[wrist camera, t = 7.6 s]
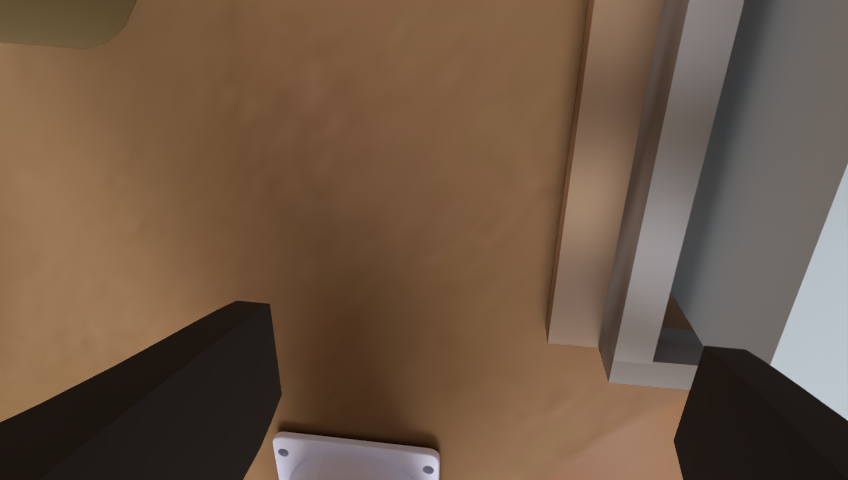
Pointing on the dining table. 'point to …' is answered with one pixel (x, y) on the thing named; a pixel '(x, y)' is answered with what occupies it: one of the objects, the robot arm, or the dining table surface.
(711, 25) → the track
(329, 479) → the robot arm
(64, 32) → the cork
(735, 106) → the pale blue rectangular brick
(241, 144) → the dining table surface
